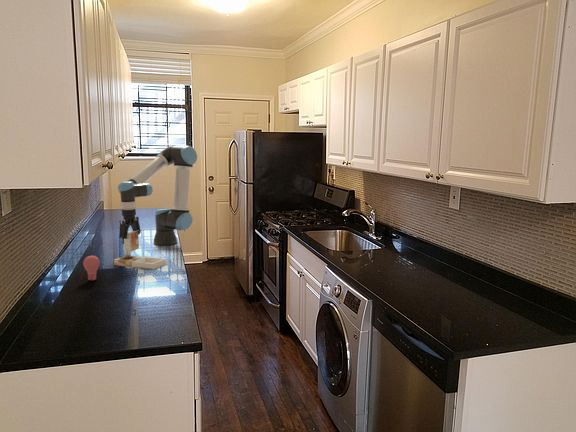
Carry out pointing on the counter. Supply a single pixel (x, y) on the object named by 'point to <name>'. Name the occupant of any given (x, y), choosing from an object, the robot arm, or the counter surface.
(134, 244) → the small box
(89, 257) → the light bulb
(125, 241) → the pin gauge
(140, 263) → the tray
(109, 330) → the counter surface
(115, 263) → the tan square ring
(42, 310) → the counter surface
